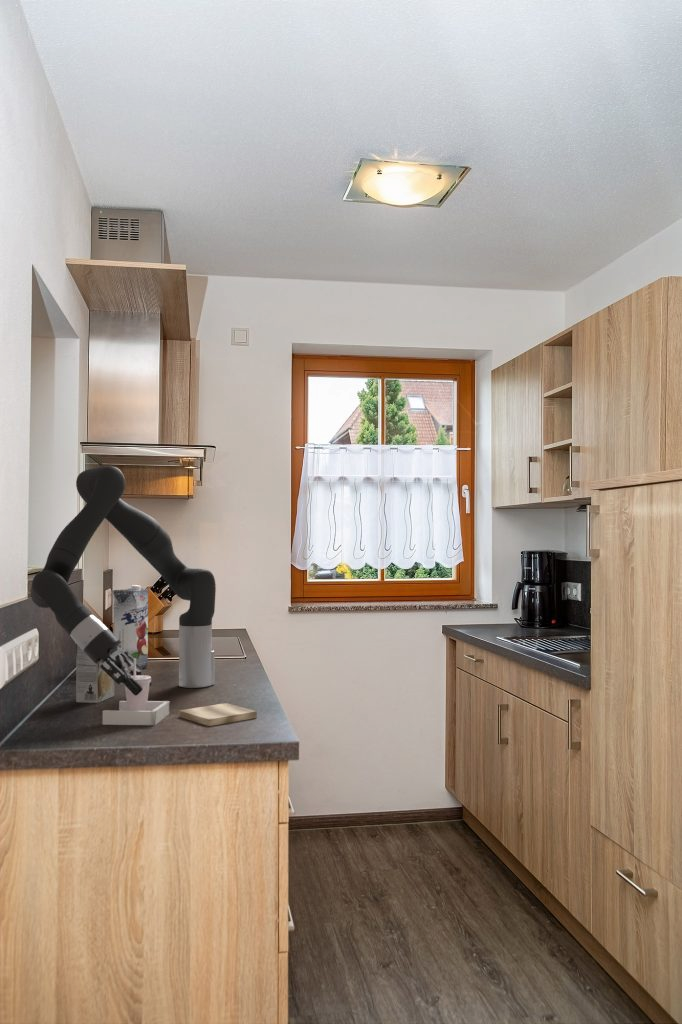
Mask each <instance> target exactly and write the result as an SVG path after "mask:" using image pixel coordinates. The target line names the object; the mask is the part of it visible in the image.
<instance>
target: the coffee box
mask: <svg viewBox="0 0 682 1024" xmlns="http://www.w3.org/2000/svg"><path fill="white" fill-rule="evenodd" d="M75 644H76V643H75ZM75 646H76V649H75V651H76V652H75V656H76V657H75V658H76V659H75V660H76V663H75V664H76V665H75V667H76V669H75V670H76V671H75V672H76V673H75V677H76V680H75V681H76V685H75V686H76V687H75V688H76V693H75V694H76V696H75V698H76V700H75V702H76V703H86V704H87V703H89V704H99V703H101V702H103V701H106V700H109V699H111V698H113V697H115V681H114V680H113V679H112V678H111V677H110V676H109V675H108V674H107V673H106V672H105V671H104V670H103V669H101V667H100V666H101V665H102V664H103V663H104V662H103V661H102V662H100V663H98V664H96V663H94V662H93V661H92V660H91V659H90V658H89V656H88V655H87V654H86V653H85V652H84V651H83V650H82V649H81V648H80V647H79V646H78V645H77V644H76V645H75Z"/></svg>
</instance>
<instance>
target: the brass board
mask: <svg viewBox="0 0 682 1024" xmlns="http://www.w3.org/2000/svg"><path fill="white" fill-rule="evenodd" d="M257 714H258V712H257V710H253V709H250V708H246V707H242V706H238V705H234V704H232V703H227V702H225V703H217V704H213V705H212V704H211V705H205V706H200V707H199V706H198V707H192V708H187V709H180V710H179V711H178V717H179V718H181V719H185V720H186V721H187V720H188V721H191V722H195V723H198V724H199V725H200V724H201V725H204V726H206V727H213V726H218V725H223V724H230V723H235V722H241V721H245V720H246V721H247V720H251V719H257V718H258V716H257Z"/></svg>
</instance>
